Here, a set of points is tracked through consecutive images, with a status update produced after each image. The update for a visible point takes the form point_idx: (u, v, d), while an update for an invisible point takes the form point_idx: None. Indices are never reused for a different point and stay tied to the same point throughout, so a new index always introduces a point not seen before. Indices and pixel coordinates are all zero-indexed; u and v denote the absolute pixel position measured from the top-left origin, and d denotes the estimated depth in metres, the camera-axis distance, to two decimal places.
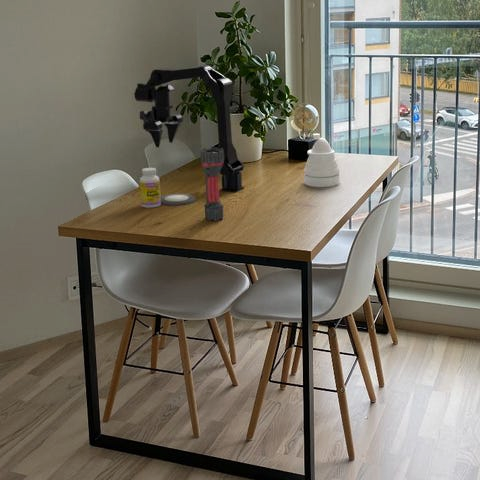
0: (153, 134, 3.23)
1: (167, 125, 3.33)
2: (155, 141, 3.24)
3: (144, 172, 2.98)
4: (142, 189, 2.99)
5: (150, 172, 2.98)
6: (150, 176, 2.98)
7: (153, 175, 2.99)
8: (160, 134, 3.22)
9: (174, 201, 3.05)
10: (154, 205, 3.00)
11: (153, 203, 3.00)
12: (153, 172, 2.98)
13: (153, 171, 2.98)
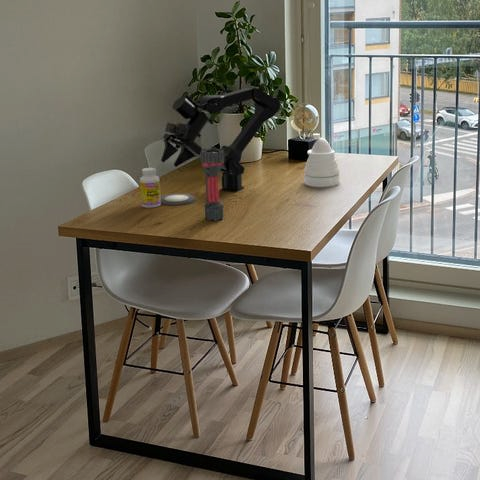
0: (183, 153, 3.00)
1: (168, 144, 3.09)
2: (179, 160, 3.00)
3: (144, 172, 2.98)
4: (142, 189, 2.99)
5: (150, 172, 2.98)
6: (150, 176, 2.98)
7: (153, 175, 2.99)
8: None
9: (174, 201, 3.05)
10: (154, 205, 3.00)
11: (153, 203, 3.00)
12: (153, 172, 2.98)
13: (153, 171, 2.98)
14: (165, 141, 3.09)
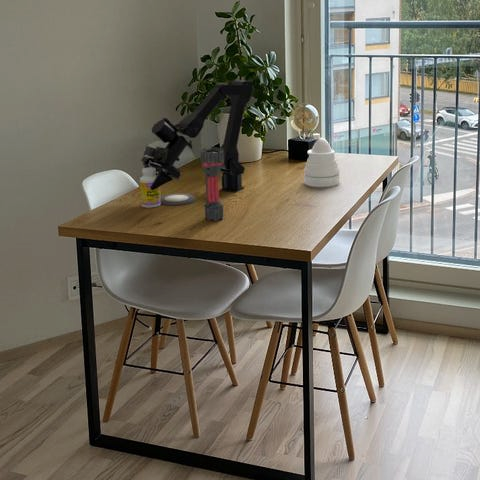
0: (160, 177, 2.97)
1: None
2: (156, 184, 2.98)
3: (144, 172, 2.98)
4: (142, 189, 2.99)
5: (150, 172, 2.98)
6: (150, 176, 2.98)
7: (153, 175, 2.99)
8: None
9: (174, 201, 3.05)
10: (154, 205, 3.00)
11: (153, 203, 3.00)
12: (153, 172, 2.98)
13: (153, 171, 2.98)
14: (145, 165, 3.04)
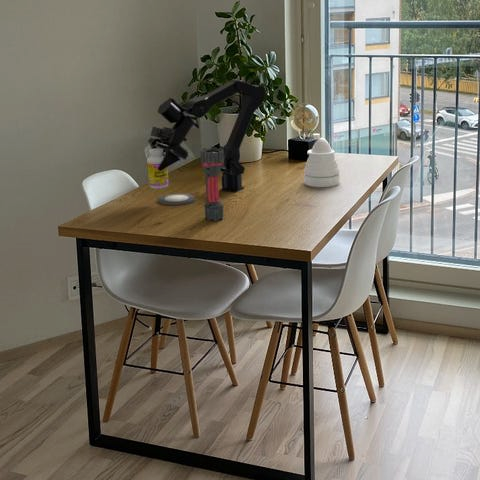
0: (168, 157, 2.97)
1: None
2: (163, 164, 2.97)
3: (151, 153, 2.98)
4: (150, 170, 2.99)
5: (157, 153, 2.98)
6: (157, 157, 2.98)
7: (160, 156, 2.99)
8: None
9: (174, 201, 3.05)
10: (162, 186, 3.00)
11: (161, 184, 3.00)
12: (160, 153, 2.98)
13: (160, 152, 2.98)
14: (152, 146, 3.04)
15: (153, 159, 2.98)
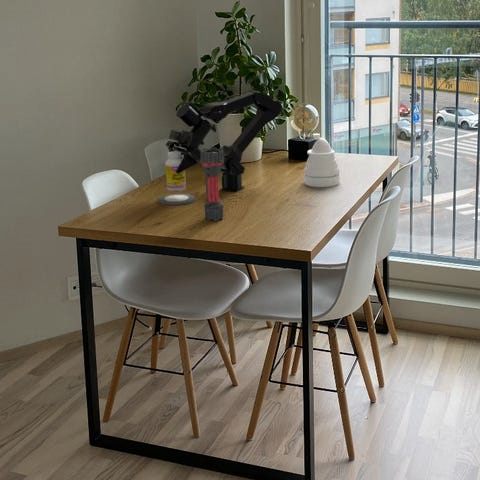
0: (186, 160, 3.02)
1: None
2: (181, 167, 3.02)
3: (169, 156, 3.02)
4: (168, 172, 3.04)
5: (175, 156, 3.02)
6: (175, 160, 3.02)
7: (178, 159, 3.03)
8: None
9: (174, 201, 3.05)
10: (179, 188, 3.05)
11: (178, 186, 3.04)
12: (178, 156, 3.02)
13: (178, 155, 3.02)
14: (170, 149, 3.08)
15: (171, 162, 3.02)
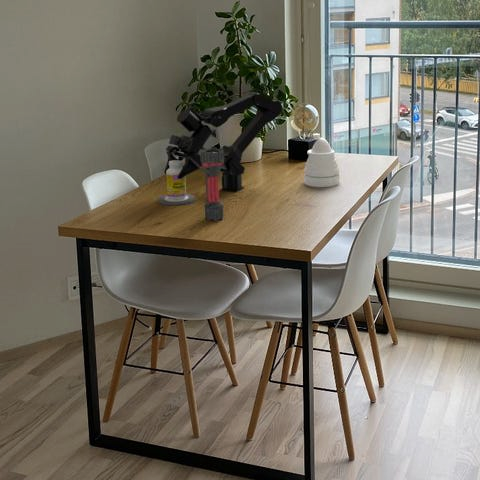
0: (187, 166, 3.01)
1: (172, 156, 3.10)
2: (183, 172, 3.01)
3: (171, 164, 3.03)
4: (168, 181, 3.05)
5: (177, 164, 3.03)
6: (176, 168, 3.04)
7: (179, 167, 3.04)
8: None
9: (174, 201, 3.05)
10: (180, 197, 3.06)
11: (179, 195, 3.05)
12: (179, 164, 3.04)
13: (179, 163, 3.04)
14: (168, 153, 3.10)
15: (172, 170, 3.03)
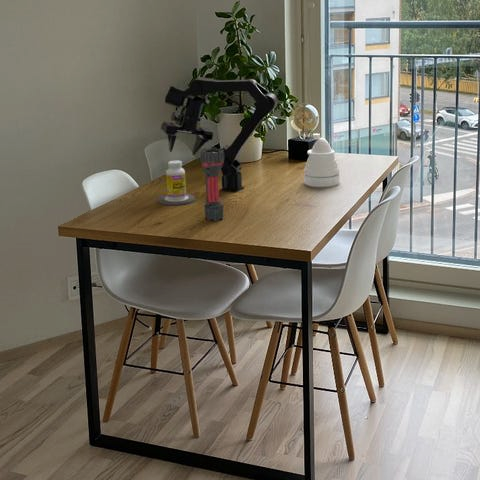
0: (169, 137, 3.17)
1: (197, 137, 3.23)
2: (169, 145, 3.18)
3: (170, 165, 3.03)
4: (168, 181, 3.05)
5: (176, 165, 3.03)
6: (176, 169, 3.03)
7: (179, 168, 3.04)
8: (172, 139, 3.15)
9: (174, 201, 3.05)
10: (180, 197, 3.06)
11: (179, 195, 3.05)
12: (179, 165, 3.03)
13: (179, 164, 3.03)
14: None
15: (172, 171, 3.03)
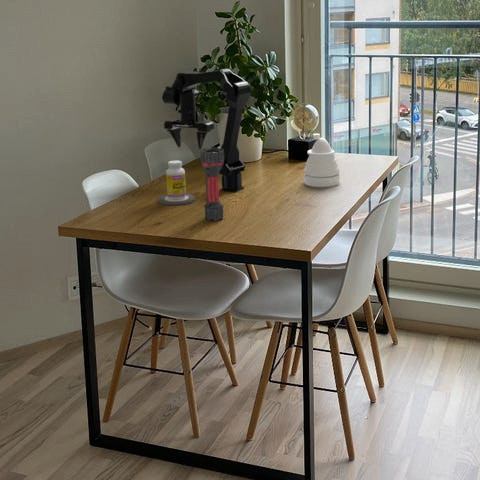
0: None
1: None
2: None
3: (170, 165, 3.03)
4: (168, 181, 3.05)
5: (176, 165, 3.03)
6: (176, 169, 3.03)
7: (179, 168, 3.04)
8: (172, 134, 3.29)
9: (174, 201, 3.05)
10: (180, 197, 3.06)
11: (179, 195, 3.05)
12: (179, 165, 3.03)
13: (179, 164, 3.03)
14: None
15: (172, 171, 3.03)
